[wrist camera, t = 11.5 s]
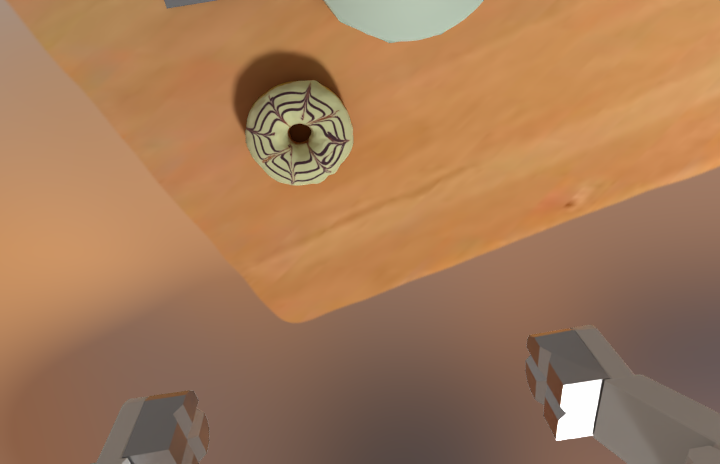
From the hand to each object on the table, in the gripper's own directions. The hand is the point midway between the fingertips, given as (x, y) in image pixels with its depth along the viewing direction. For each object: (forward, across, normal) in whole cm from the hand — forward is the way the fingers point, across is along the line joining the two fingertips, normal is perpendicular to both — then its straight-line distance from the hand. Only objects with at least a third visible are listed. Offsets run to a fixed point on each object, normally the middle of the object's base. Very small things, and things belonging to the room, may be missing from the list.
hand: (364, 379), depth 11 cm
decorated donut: (+40, +4, +5) cm, 40 cm away
